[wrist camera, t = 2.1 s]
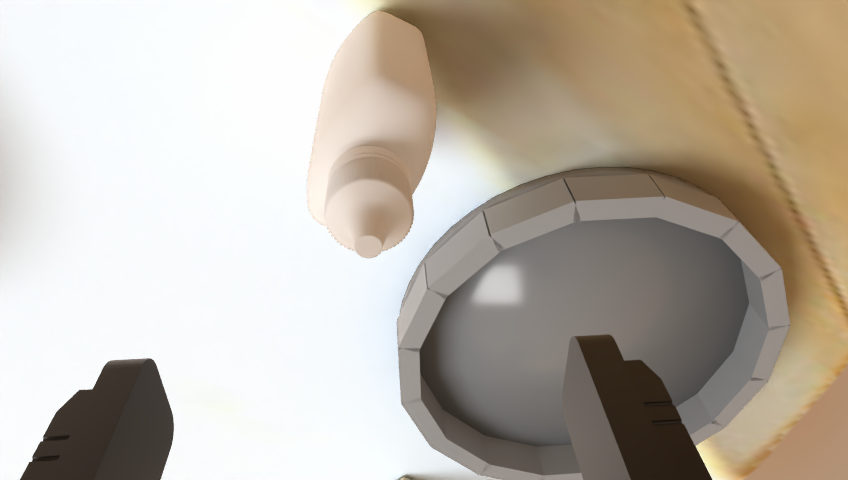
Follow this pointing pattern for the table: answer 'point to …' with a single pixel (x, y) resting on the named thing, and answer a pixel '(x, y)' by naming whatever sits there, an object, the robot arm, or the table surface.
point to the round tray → (583, 313)
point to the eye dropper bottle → (372, 135)
